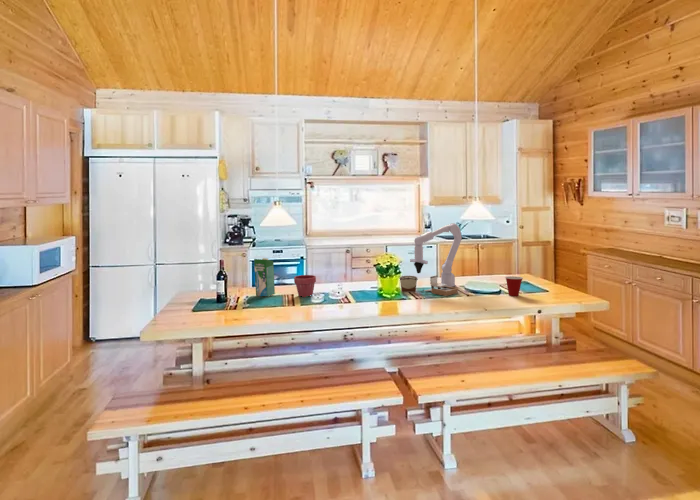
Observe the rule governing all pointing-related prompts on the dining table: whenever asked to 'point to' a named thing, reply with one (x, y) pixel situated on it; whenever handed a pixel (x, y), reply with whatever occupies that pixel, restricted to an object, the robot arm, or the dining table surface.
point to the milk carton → (264, 277)
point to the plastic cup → (513, 285)
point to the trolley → (434, 283)
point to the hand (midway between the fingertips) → (418, 273)
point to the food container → (408, 283)
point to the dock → (444, 291)
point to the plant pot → (305, 284)
